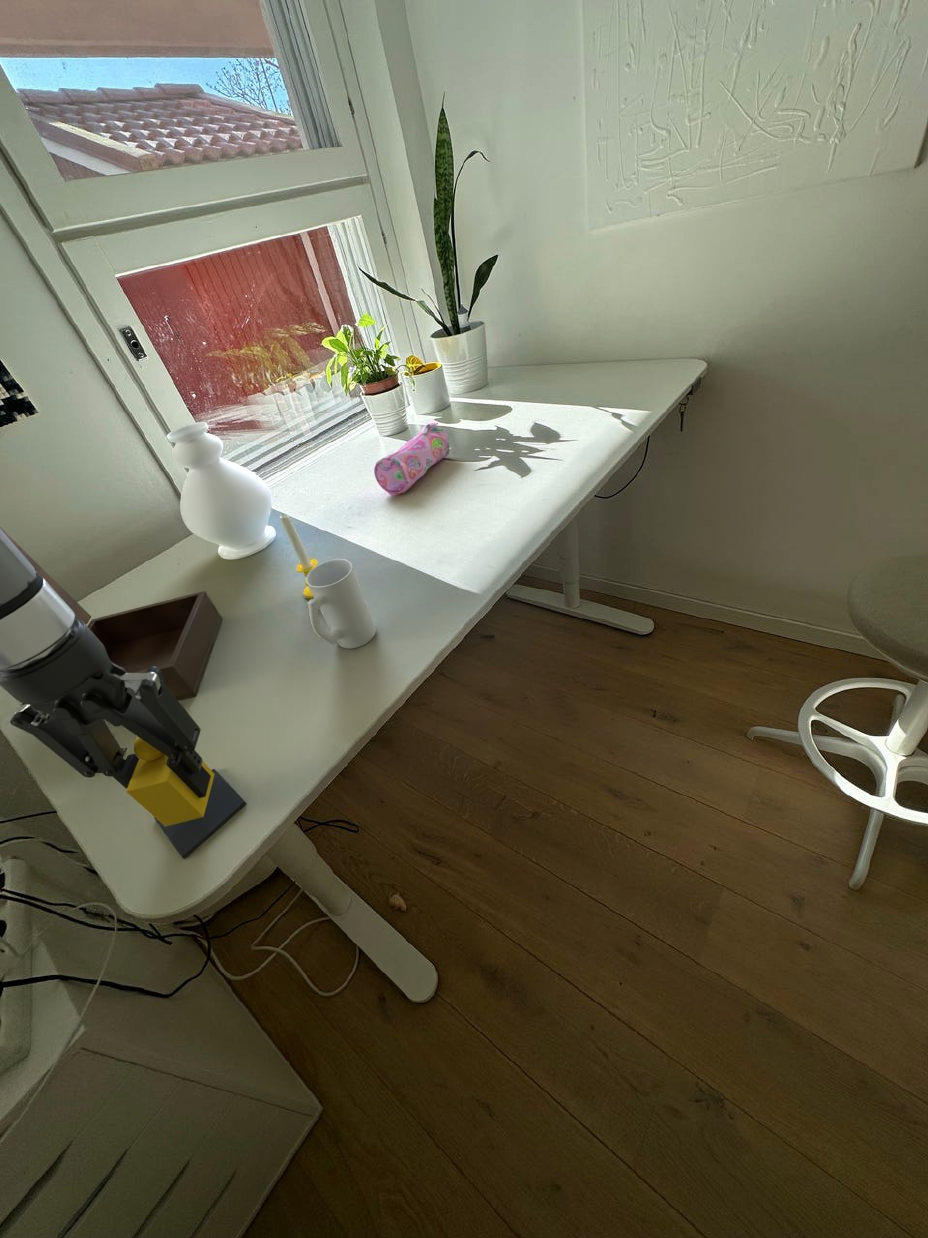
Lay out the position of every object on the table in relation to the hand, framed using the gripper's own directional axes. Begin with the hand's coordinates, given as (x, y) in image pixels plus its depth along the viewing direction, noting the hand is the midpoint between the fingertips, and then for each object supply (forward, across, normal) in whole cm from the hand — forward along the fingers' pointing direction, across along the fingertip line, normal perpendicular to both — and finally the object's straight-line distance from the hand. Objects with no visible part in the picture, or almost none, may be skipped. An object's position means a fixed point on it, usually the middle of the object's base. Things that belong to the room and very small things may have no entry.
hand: (183, 792), depth 58 cm
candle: (+4, -11, -41) cm, 43 cm away
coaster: (+4, 0, 0) cm, 4 cm away
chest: (+4, +16, -30) cm, 34 cm away
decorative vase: (+4, +6, -66) cm, 67 cm away
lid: (-13, +26, -30) cm, 42 cm away
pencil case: (+5, -33, -79) cm, 85 cm away
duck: (+2, 0, 0) cm, 2 cm away
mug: (+4, -18, -24) cm, 30 cm away
